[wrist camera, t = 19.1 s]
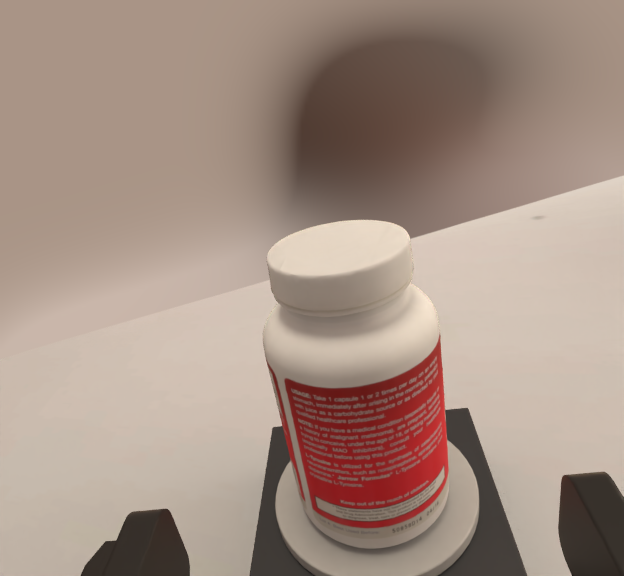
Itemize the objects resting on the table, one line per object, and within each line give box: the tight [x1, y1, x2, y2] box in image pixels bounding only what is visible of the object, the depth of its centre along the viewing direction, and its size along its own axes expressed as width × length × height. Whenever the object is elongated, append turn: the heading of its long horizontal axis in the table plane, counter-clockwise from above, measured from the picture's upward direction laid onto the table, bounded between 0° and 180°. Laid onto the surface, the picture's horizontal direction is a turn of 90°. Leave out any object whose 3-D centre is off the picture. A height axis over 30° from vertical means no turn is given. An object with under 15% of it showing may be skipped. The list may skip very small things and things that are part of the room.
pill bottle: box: [263, 220, 449, 549], centre depth 19 cm, size 6×6×11 cm
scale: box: [250, 408, 527, 576], centre depth 22 cm, size 10×10×4 cm
